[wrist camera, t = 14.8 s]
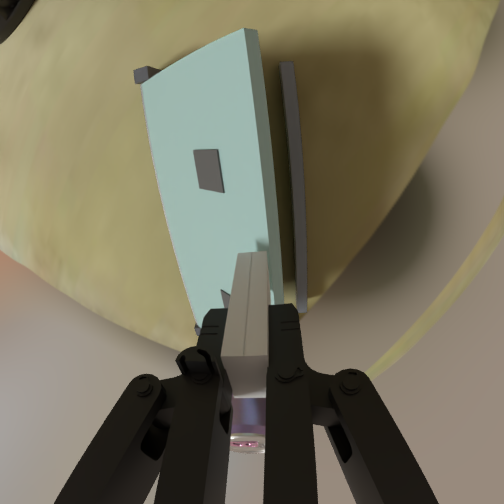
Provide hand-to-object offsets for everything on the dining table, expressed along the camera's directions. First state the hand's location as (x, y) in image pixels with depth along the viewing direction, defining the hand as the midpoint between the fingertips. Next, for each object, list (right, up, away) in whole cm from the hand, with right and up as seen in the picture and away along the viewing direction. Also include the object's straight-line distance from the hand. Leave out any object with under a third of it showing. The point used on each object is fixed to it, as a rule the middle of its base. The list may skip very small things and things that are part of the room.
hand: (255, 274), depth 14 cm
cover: (-3, +2, +5) cm, 6 cm away
